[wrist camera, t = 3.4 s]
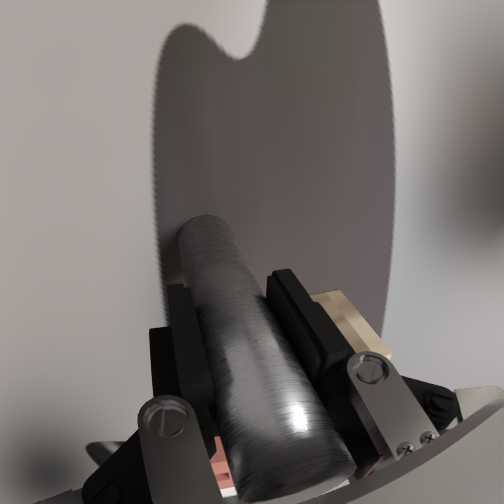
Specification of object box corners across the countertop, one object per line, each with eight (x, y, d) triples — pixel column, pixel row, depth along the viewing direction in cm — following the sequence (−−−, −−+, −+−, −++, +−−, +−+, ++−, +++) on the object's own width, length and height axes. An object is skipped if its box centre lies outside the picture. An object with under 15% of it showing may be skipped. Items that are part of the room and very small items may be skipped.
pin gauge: (175, 218, 14) (240, 493, 4) (230, 212, 15) (372, 449, 5) (180, 266, 15) (242, 518, 5) (231, 260, 16) (340, 488, 6)
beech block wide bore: (247, 306, 18) (284, 387, 13) (339, 289, 19) (392, 353, 14) (247, 372, 21) (274, 443, 16) (324, 353, 22) (362, 414, 17)
